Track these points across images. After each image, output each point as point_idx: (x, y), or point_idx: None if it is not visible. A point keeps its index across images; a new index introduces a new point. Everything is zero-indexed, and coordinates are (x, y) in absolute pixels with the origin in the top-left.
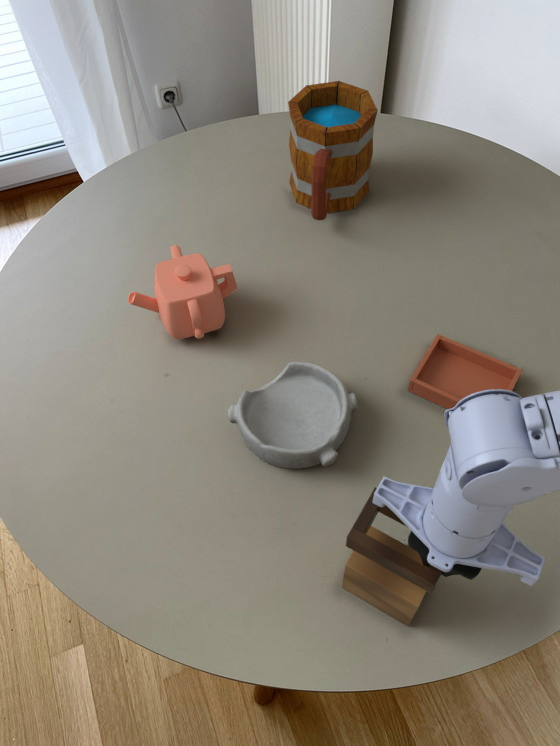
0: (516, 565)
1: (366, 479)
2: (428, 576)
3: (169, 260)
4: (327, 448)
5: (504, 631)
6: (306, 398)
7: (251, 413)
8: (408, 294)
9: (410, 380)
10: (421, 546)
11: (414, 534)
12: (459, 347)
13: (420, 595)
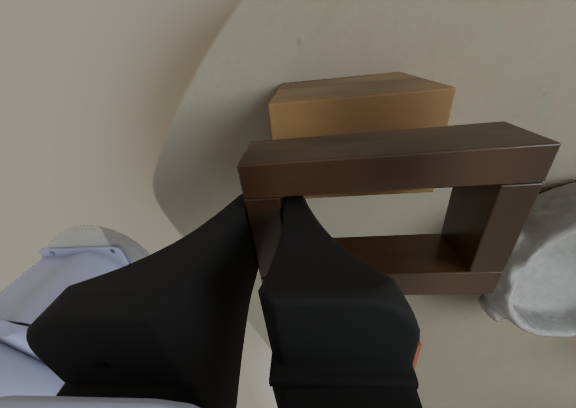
0: None
1: (423, 227)
2: (266, 178)
3: None
4: (520, 250)
5: (181, 156)
6: (554, 283)
7: None
8: (447, 389)
9: (420, 344)
10: (332, 323)
11: (393, 350)
12: None
13: (277, 127)
